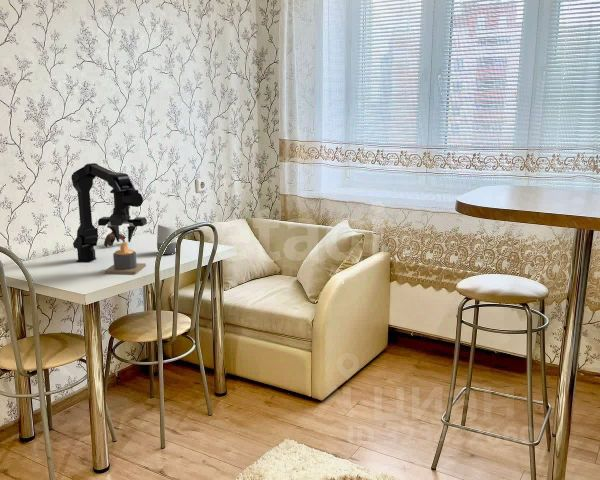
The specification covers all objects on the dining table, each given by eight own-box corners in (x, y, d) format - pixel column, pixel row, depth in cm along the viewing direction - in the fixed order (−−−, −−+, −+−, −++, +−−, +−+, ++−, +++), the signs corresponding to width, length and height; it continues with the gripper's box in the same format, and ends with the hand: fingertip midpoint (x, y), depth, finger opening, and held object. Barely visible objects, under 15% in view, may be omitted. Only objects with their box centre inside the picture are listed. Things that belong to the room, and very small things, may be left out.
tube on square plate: (104, 273, 243) (103, 256, 242) (116, 265, 256) (115, 249, 254) (135, 274, 242) (134, 257, 241) (145, 266, 255) (145, 249, 253)
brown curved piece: (105, 244, 298) (112, 230, 298) (122, 253, 298) (129, 238, 298) (97, 243, 286) (105, 228, 286) (115, 252, 286) (123, 237, 286)
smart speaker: (180, 254, 276) (178, 224, 273) (160, 256, 272) (158, 226, 268) (174, 250, 284) (173, 221, 281) (155, 252, 280) (153, 223, 277)
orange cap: (112, 259, 245) (111, 244, 243) (119, 255, 252) (118, 241, 250) (130, 260, 244) (129, 245, 243) (136, 256, 251) (135, 241, 250)
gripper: (91, 207, 236) (94, 245, 239) (137, 208, 235) (139, 246, 238) (102, 203, 247) (104, 240, 250) (146, 203, 246) (148, 240, 249)
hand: (123, 241), depth 247 cm, fingers open, 4 cm apart
